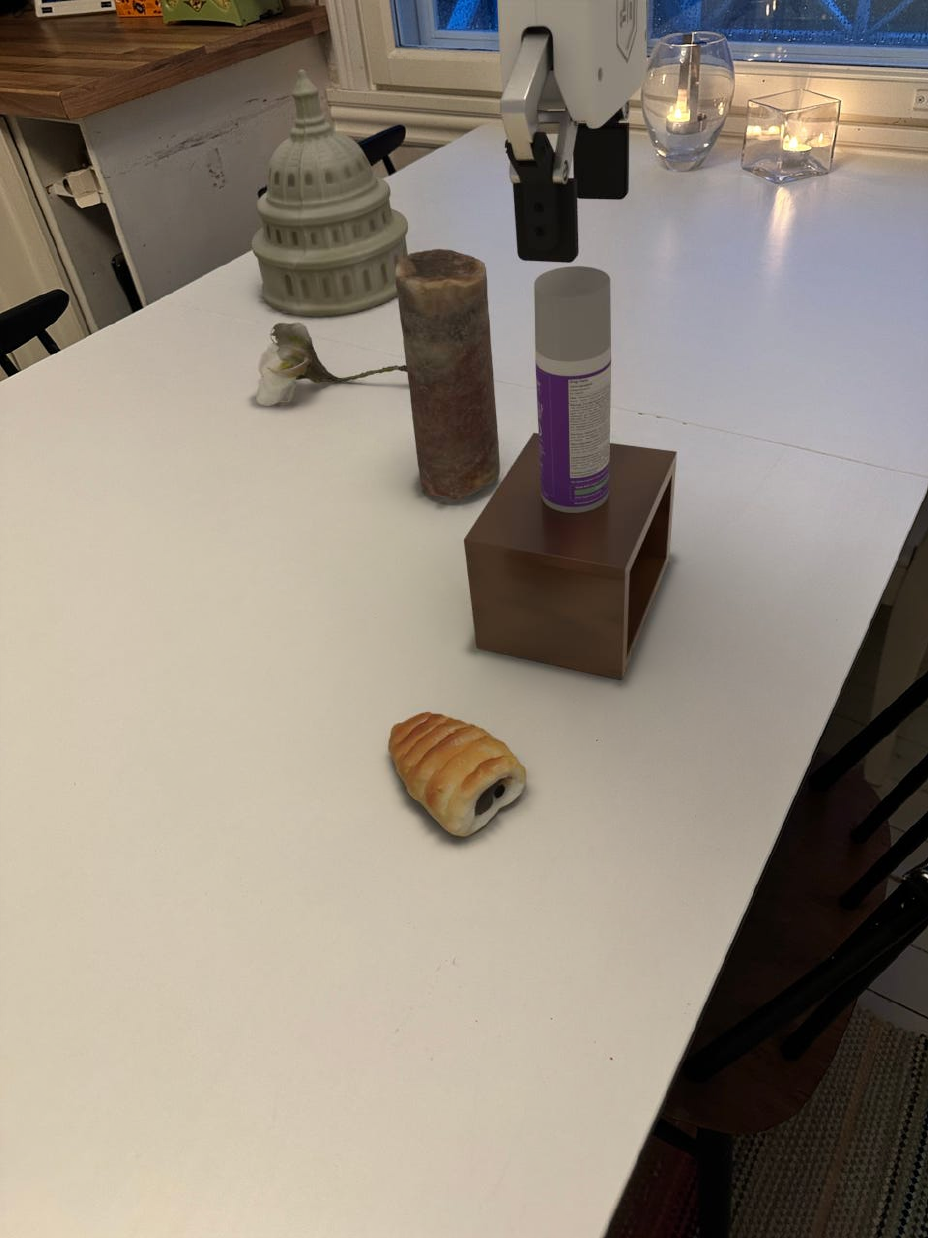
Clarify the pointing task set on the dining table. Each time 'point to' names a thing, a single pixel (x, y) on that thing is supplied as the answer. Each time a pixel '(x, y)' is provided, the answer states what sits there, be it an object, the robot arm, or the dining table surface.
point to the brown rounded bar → (449, 370)
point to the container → (573, 386)
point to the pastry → (455, 770)
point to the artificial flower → (295, 365)
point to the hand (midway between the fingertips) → (576, 226)
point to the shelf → (571, 563)
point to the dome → (325, 221)
